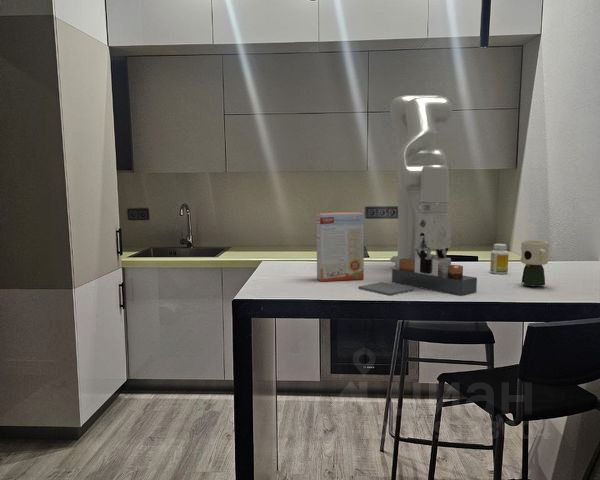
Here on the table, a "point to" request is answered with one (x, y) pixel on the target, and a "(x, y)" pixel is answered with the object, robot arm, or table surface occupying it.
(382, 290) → the rubber mat
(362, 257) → the cracker box
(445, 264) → the lever cap
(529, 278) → the character mug
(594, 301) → the table surface
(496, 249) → the supplement bottle
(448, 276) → the body
